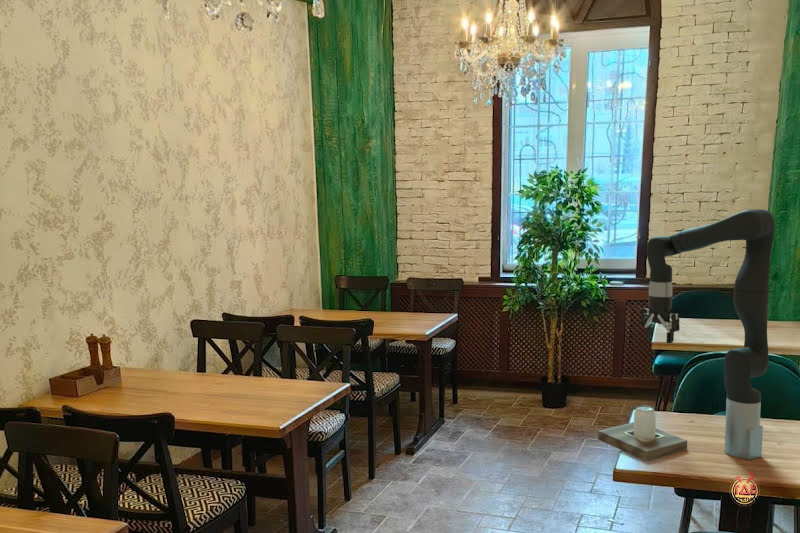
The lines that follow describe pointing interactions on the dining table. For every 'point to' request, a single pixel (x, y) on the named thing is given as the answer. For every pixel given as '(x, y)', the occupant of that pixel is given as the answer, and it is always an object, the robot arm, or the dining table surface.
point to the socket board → (642, 442)
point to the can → (644, 422)
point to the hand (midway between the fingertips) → (659, 340)
